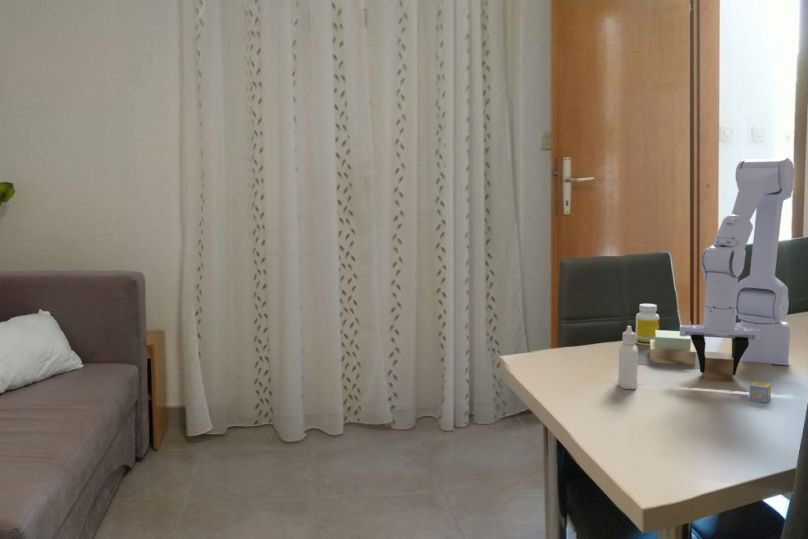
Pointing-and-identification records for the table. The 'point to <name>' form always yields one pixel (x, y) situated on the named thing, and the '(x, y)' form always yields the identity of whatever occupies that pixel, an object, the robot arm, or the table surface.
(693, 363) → the tower base
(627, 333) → the eye dropper bottle
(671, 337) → the tower top
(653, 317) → the supplement bottle
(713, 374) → the walnut cube
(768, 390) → the alphabet block
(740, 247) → the robot arm
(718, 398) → the table surface
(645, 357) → the mat
